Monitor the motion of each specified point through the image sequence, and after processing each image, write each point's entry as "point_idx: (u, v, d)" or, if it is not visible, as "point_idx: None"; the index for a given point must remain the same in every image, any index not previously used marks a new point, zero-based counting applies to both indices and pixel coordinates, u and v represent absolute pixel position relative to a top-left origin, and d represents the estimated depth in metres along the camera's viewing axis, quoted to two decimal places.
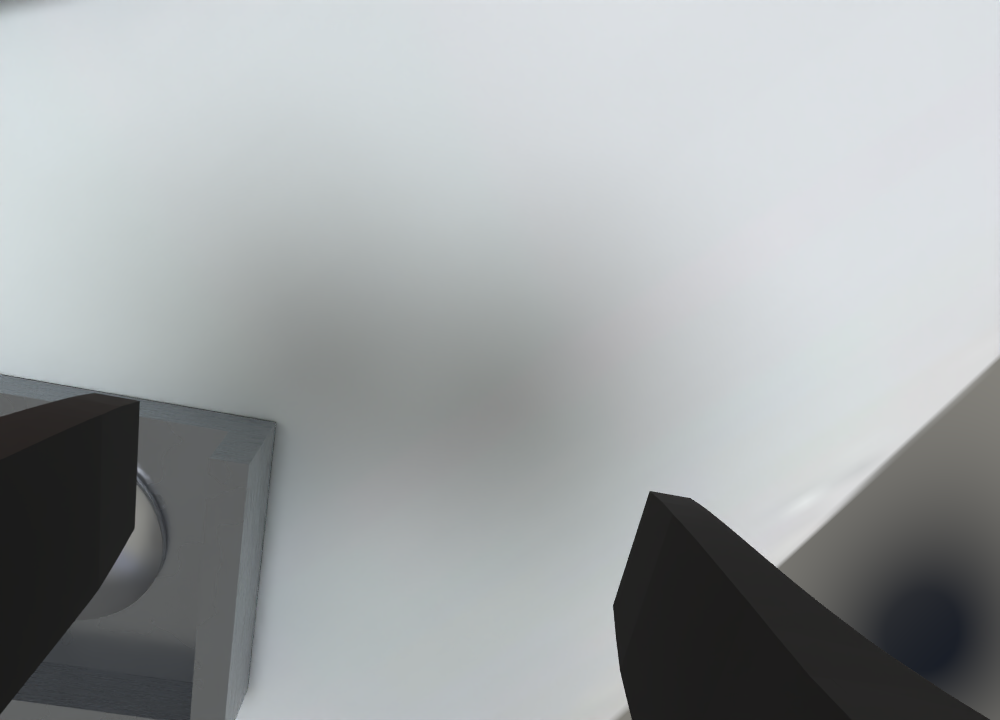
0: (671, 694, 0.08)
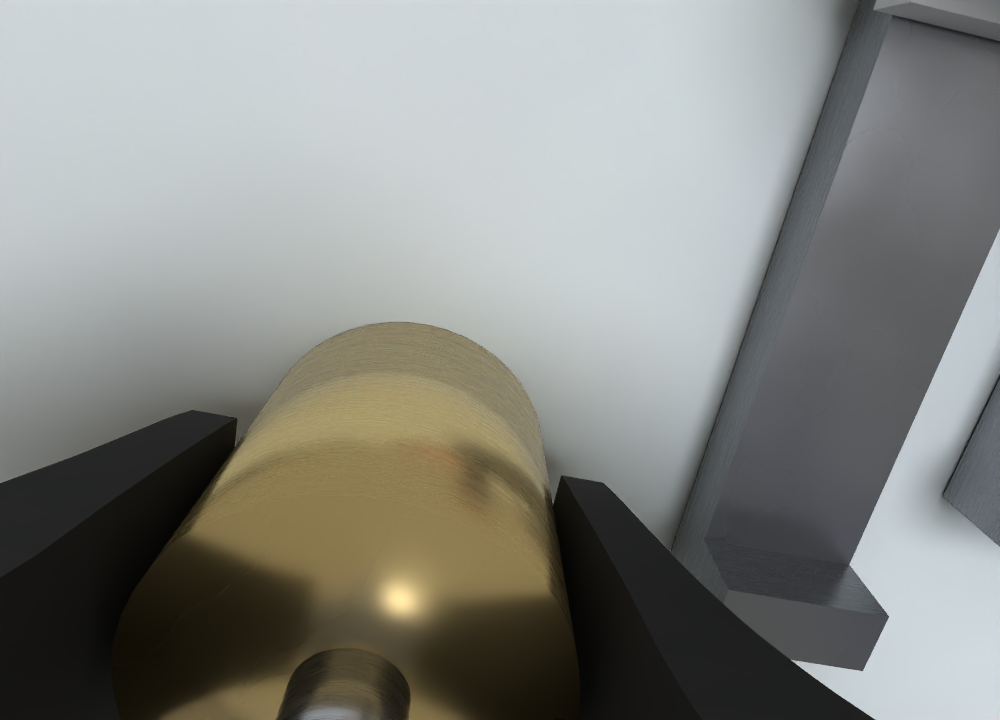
0: None
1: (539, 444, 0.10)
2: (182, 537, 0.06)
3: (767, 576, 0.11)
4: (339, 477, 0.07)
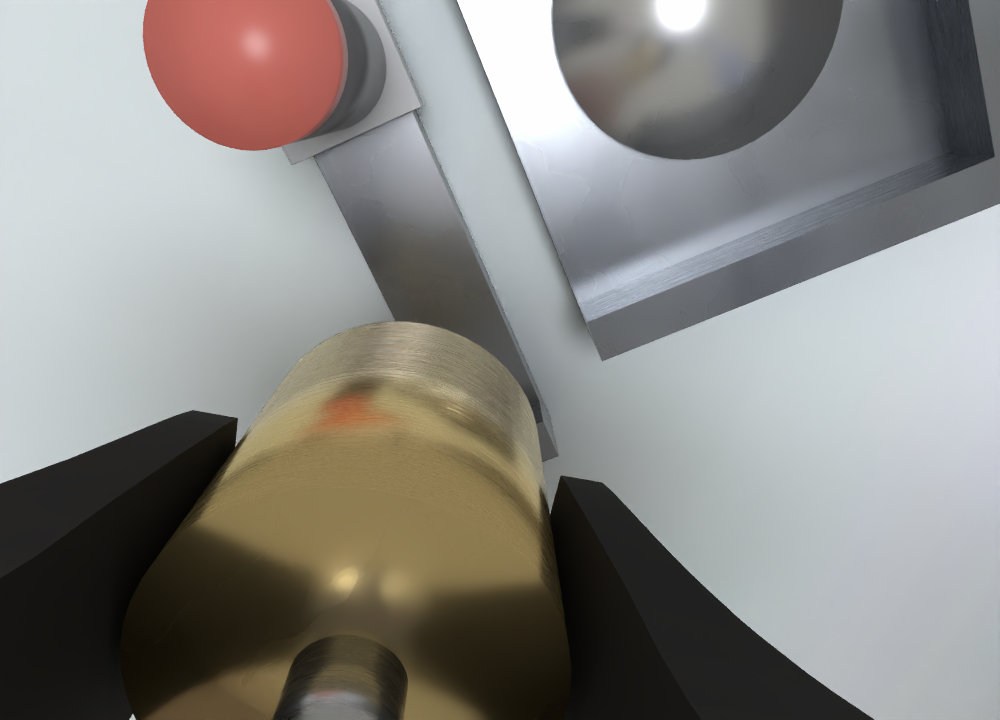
0: None
1: (535, 441, 0.11)
2: (190, 526, 0.07)
3: None
4: (342, 469, 0.07)
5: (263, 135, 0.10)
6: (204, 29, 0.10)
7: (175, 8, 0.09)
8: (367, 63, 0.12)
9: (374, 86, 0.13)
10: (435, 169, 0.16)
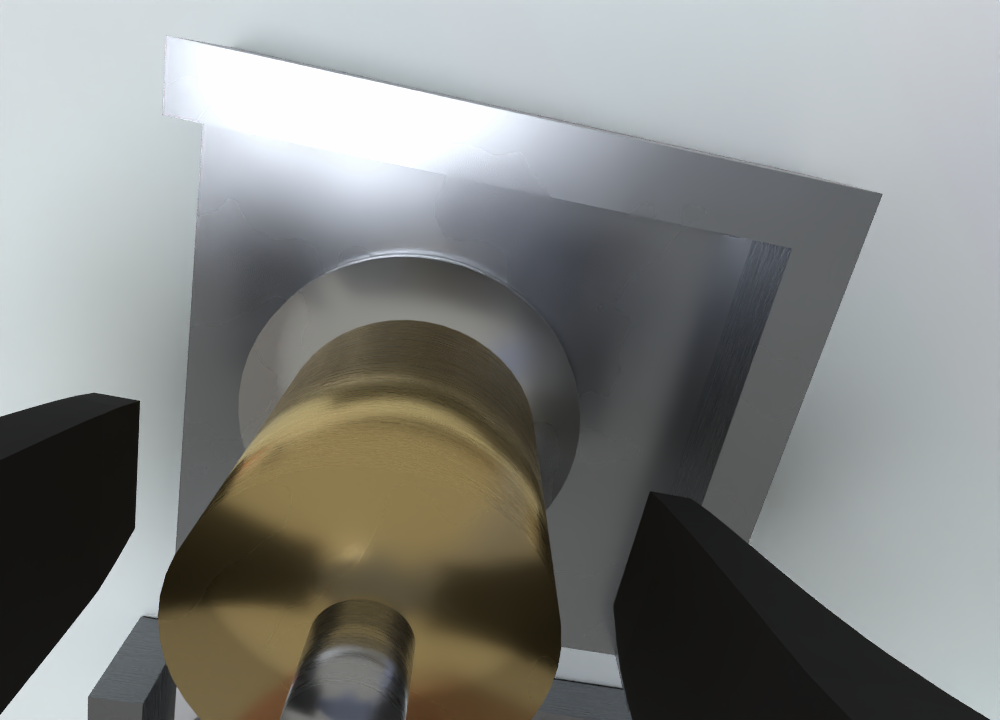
0: (672, 694, 0.08)
1: (529, 425, 0.11)
2: (215, 506, 0.08)
3: None
4: (347, 451, 0.08)
5: None
6: None
7: None
8: None
9: None
10: None
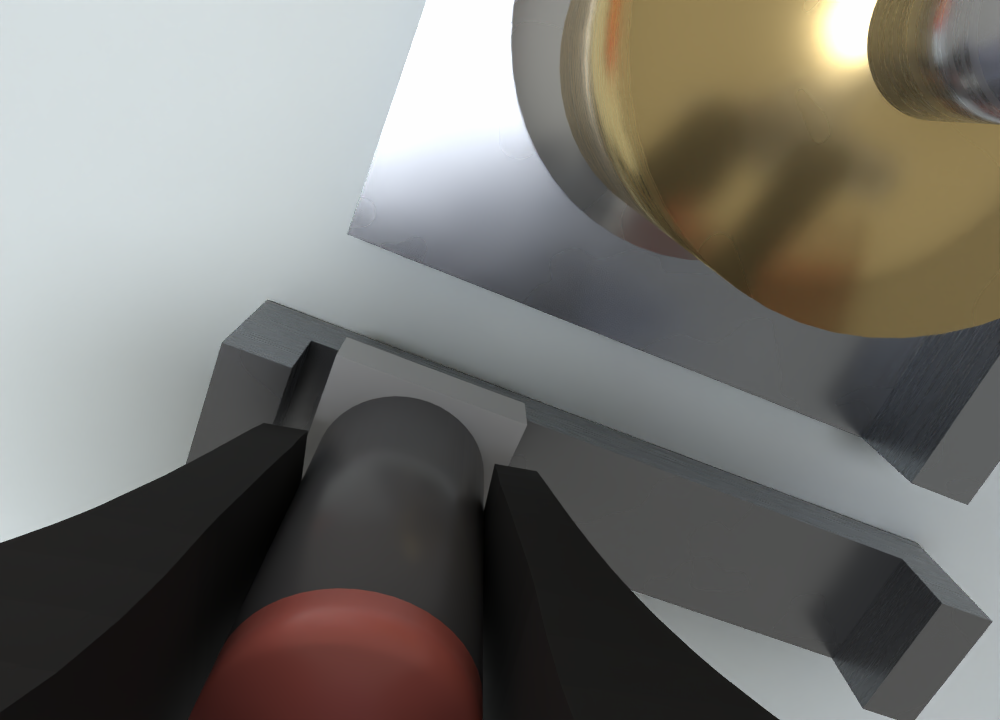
0: (484, 665, 0.08)
1: None
2: None
3: (872, 656, 0.13)
4: None
5: None
6: None
7: None
8: (455, 517, 0.08)
9: (473, 484, 0.10)
10: (588, 445, 0.12)
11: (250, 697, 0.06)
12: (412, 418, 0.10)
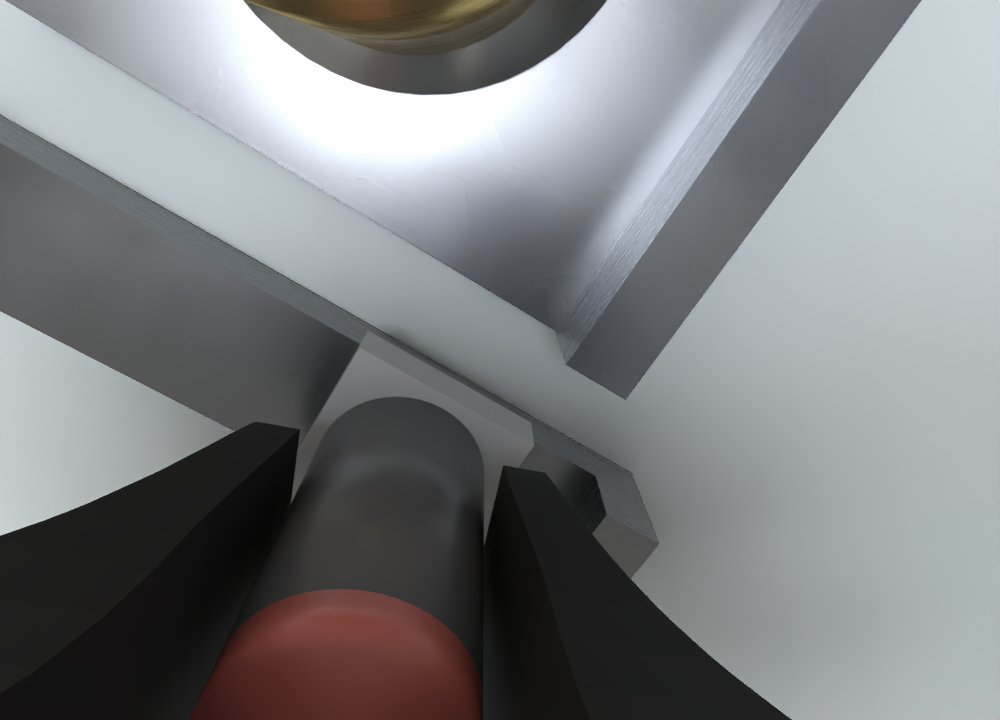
0: (494, 668, 0.08)
1: None
2: None
3: None
4: None
5: None
6: None
7: None
8: (466, 530, 0.08)
9: (479, 498, 0.10)
10: (260, 291, 0.11)
11: (265, 689, 0.06)
12: (427, 423, 0.10)
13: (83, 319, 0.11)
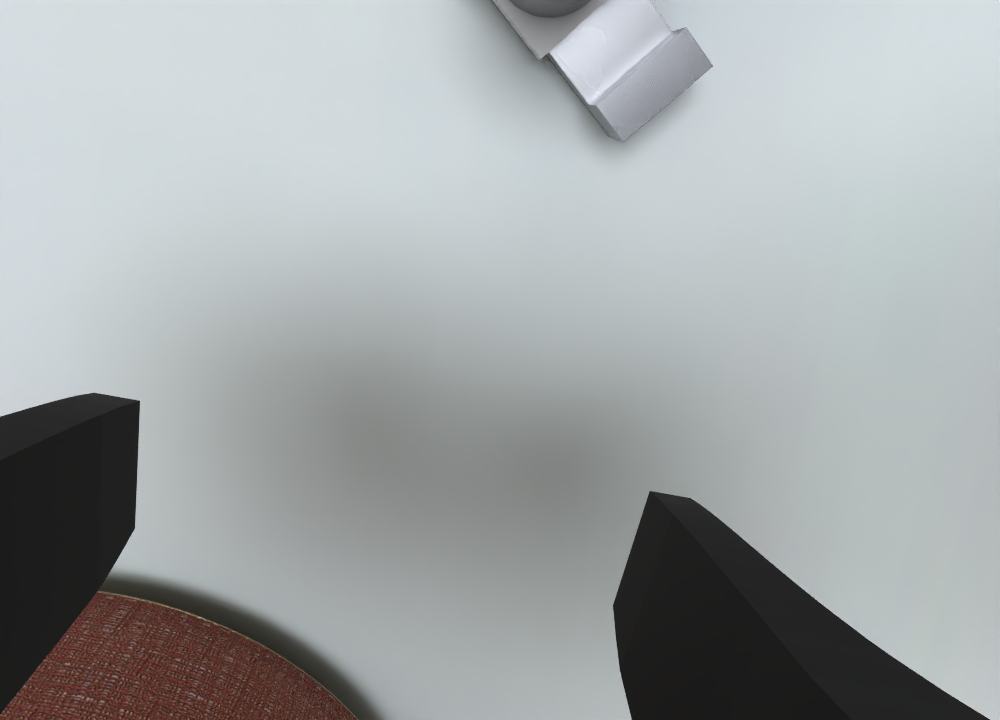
0: (671, 694, 0.08)
1: None
2: None
3: (620, 81, 0.16)
4: None
5: None
6: None
7: None
8: None
9: None
10: None
11: None
12: None
13: None
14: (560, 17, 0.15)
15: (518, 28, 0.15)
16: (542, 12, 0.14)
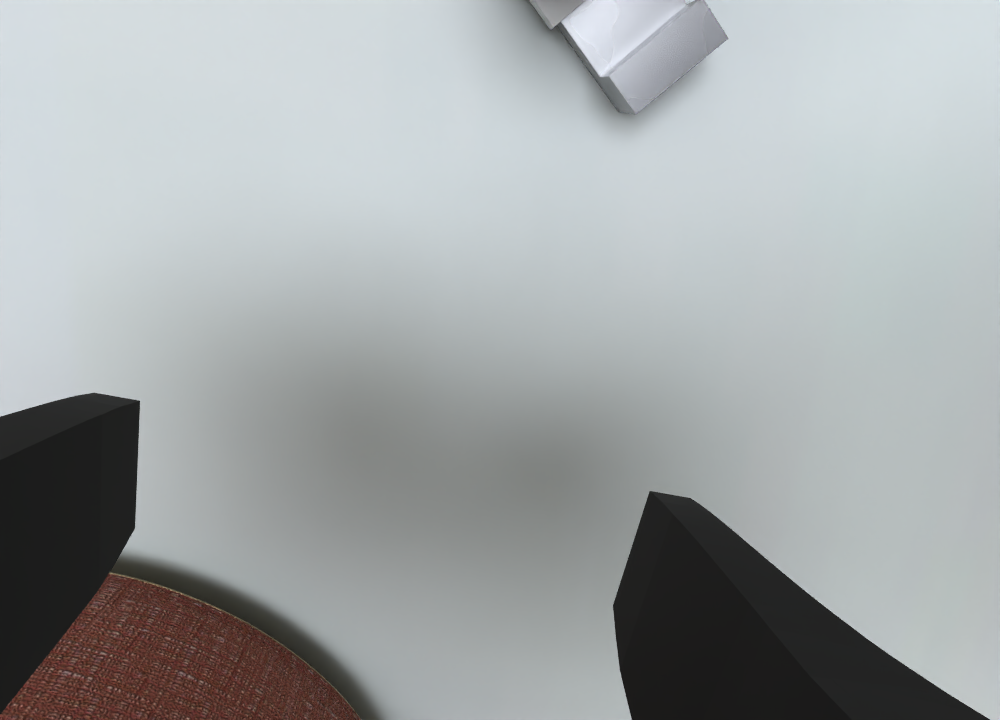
0: (671, 694, 0.08)
1: None
2: None
3: (633, 52, 0.16)
4: None
5: None
6: None
7: None
8: None
9: None
10: None
11: None
12: None
13: None
14: None
15: None
16: None
